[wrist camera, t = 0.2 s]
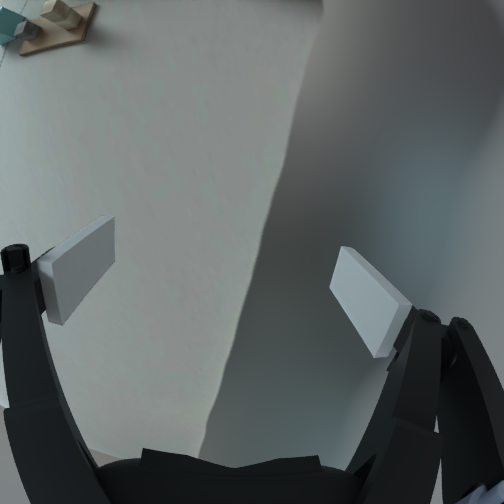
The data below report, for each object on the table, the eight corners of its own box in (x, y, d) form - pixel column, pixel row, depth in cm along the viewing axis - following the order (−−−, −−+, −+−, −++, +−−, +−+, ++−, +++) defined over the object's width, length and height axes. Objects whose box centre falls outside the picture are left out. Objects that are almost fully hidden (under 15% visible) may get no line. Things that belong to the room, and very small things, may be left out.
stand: (33, 22, 24) (5, 9, 15) (96, 4, 26) (71, -18, 17) (22, 56, 27) (-10, 47, 18) (83, 40, 29) (54, 22, 20)
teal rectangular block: (8, 23, 22) (-14, 15, 14) (24, 16, 23) (2, 6, 15) (0, 45, 24) (-23, 39, 16) (16, 38, 25) (-8, 30, 17)
